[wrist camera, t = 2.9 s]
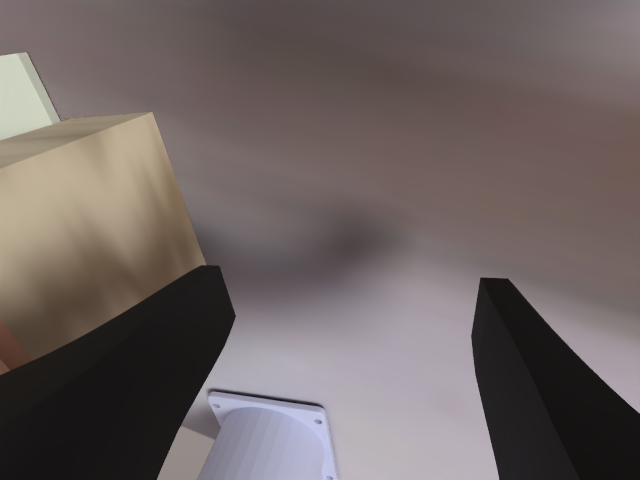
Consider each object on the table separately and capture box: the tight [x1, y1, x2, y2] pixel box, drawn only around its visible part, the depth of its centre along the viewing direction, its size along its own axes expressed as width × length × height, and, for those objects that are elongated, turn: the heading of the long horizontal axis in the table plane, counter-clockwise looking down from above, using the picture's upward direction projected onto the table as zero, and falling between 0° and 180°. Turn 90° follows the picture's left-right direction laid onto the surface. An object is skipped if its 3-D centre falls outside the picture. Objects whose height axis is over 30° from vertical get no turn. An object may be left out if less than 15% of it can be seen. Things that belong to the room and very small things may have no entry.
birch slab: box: [0, 112, 206, 375], centre depth 13 cm, size 9×4×8 cm, turn 7°
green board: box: [0, 53, 61, 140], centre depth 18 cm, size 14×10×1 cm
